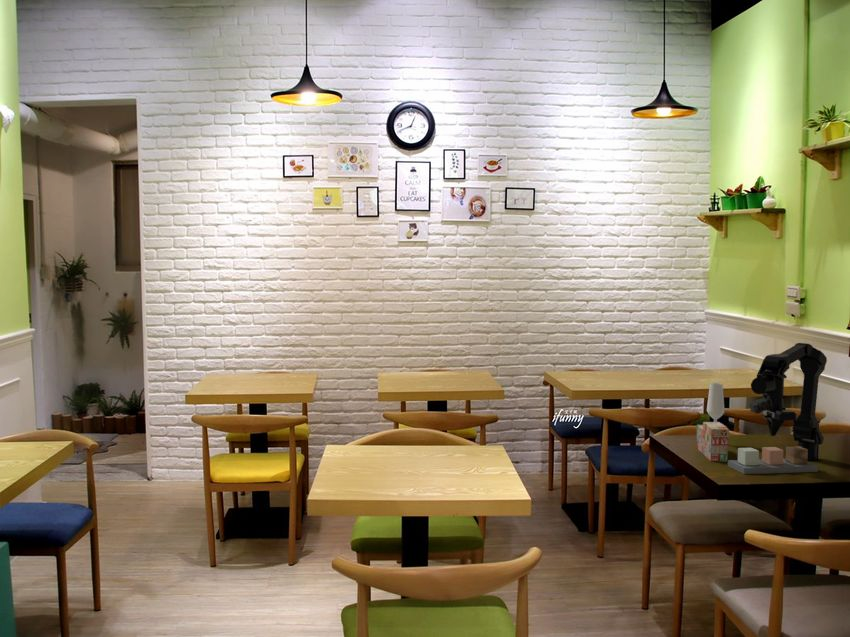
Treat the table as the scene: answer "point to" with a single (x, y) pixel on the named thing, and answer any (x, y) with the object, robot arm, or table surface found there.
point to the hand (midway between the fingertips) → (773, 435)
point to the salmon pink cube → (772, 455)
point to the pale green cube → (748, 456)
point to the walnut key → (796, 455)
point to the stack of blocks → (713, 441)
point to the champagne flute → (715, 401)
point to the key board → (772, 467)
